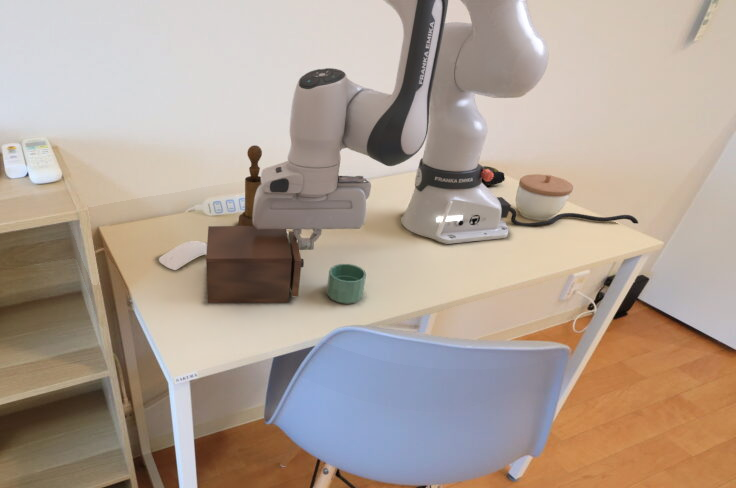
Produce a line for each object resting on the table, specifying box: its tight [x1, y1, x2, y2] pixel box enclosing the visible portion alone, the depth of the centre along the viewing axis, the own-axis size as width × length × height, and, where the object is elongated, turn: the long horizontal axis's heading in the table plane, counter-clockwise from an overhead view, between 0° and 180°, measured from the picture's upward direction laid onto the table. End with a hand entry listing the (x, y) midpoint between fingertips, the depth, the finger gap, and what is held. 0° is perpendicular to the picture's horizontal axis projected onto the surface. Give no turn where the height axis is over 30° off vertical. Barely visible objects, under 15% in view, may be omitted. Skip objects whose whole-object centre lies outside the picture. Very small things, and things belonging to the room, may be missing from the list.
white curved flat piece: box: [158, 240, 207, 271], centre depth 107 cm, size 7×12×2 cm, turn 128°
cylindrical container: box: [326, 263, 367, 305], centre depth 94 cm, size 6×6×5 cm
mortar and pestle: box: [238, 144, 263, 226], centre depth 113 cm, size 7×6×18 cm
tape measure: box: [482, 165, 506, 187], centre depth 135 cm, size 7×7×4 cm
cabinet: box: [205, 225, 292, 304], centre depth 96 cm, size 15×13×9 cm
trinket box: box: [515, 173, 574, 221], centre depth 118 cm, size 11×11×9 cm
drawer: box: [287, 230, 305, 297], centre depth 96 cm, size 15×11×7 cm
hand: (305, 248), depth 97 cm, fingers closed
